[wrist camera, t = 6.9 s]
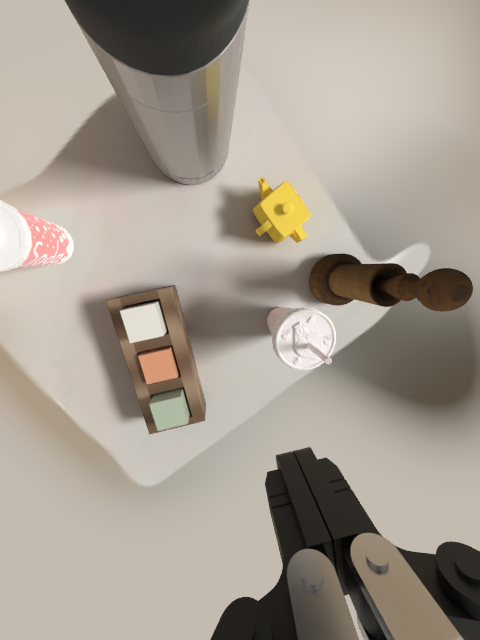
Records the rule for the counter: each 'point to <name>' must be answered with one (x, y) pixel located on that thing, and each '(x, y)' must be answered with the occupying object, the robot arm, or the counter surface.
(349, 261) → the mortar and pestle
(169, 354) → the terracotta key
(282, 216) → the teapot
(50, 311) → the counter surface
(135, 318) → the offwhite key
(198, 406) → the key panel
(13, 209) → the beverage cup
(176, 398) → the sage key
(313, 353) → the smoothie
